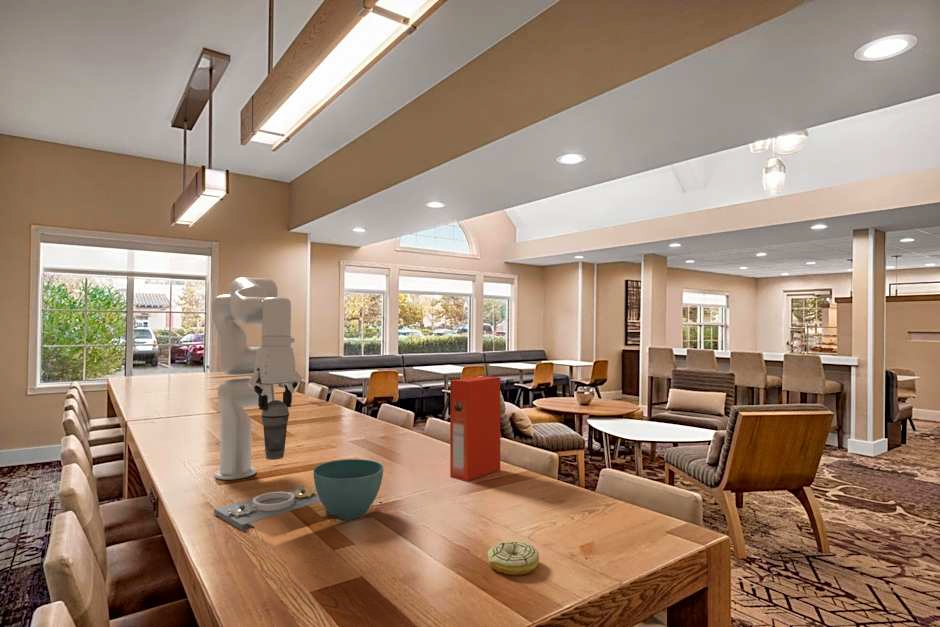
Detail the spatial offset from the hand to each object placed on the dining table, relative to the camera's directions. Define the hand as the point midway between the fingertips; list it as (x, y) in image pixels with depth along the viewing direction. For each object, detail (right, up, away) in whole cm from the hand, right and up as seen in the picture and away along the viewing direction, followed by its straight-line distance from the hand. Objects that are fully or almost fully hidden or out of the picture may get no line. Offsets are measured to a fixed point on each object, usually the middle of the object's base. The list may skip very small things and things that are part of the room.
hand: (275, 407), depth 143 cm
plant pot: (+21, -28, -4) cm, 35 cm away
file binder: (+55, -29, +34) cm, 71 cm away
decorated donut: (+63, -28, -32) cm, 76 cm away
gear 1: (-6, -26, -7) cm, 28 cm away
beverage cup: (0, -14, 0) cm, 14 cm away
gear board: (0, -28, -1) cm, 28 cm away
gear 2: (+6, -26, +6) cm, 27 cm away
